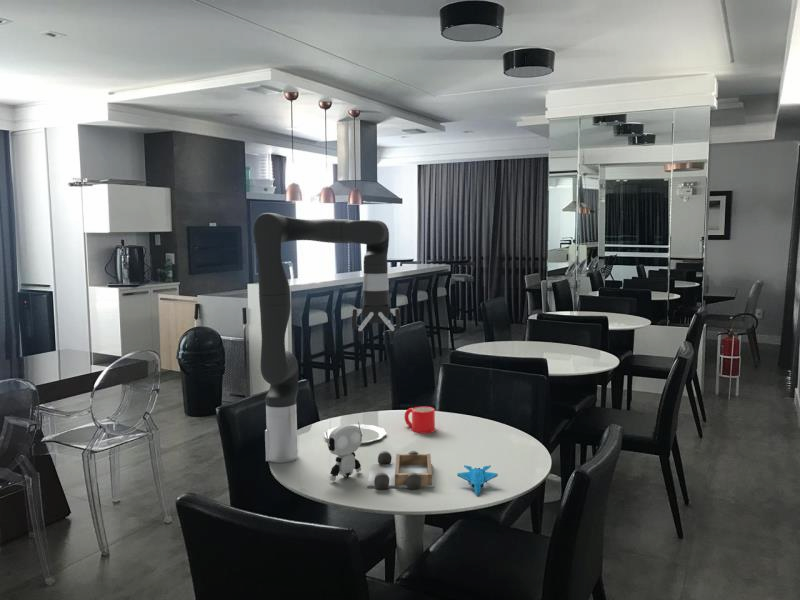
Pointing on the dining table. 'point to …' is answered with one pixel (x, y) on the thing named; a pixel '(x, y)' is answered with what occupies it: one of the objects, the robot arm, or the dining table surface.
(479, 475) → the toy airplane
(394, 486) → the chassis
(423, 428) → the mug
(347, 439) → the robot toy
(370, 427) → the plate
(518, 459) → the dining table surface
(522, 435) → the dining table surface
